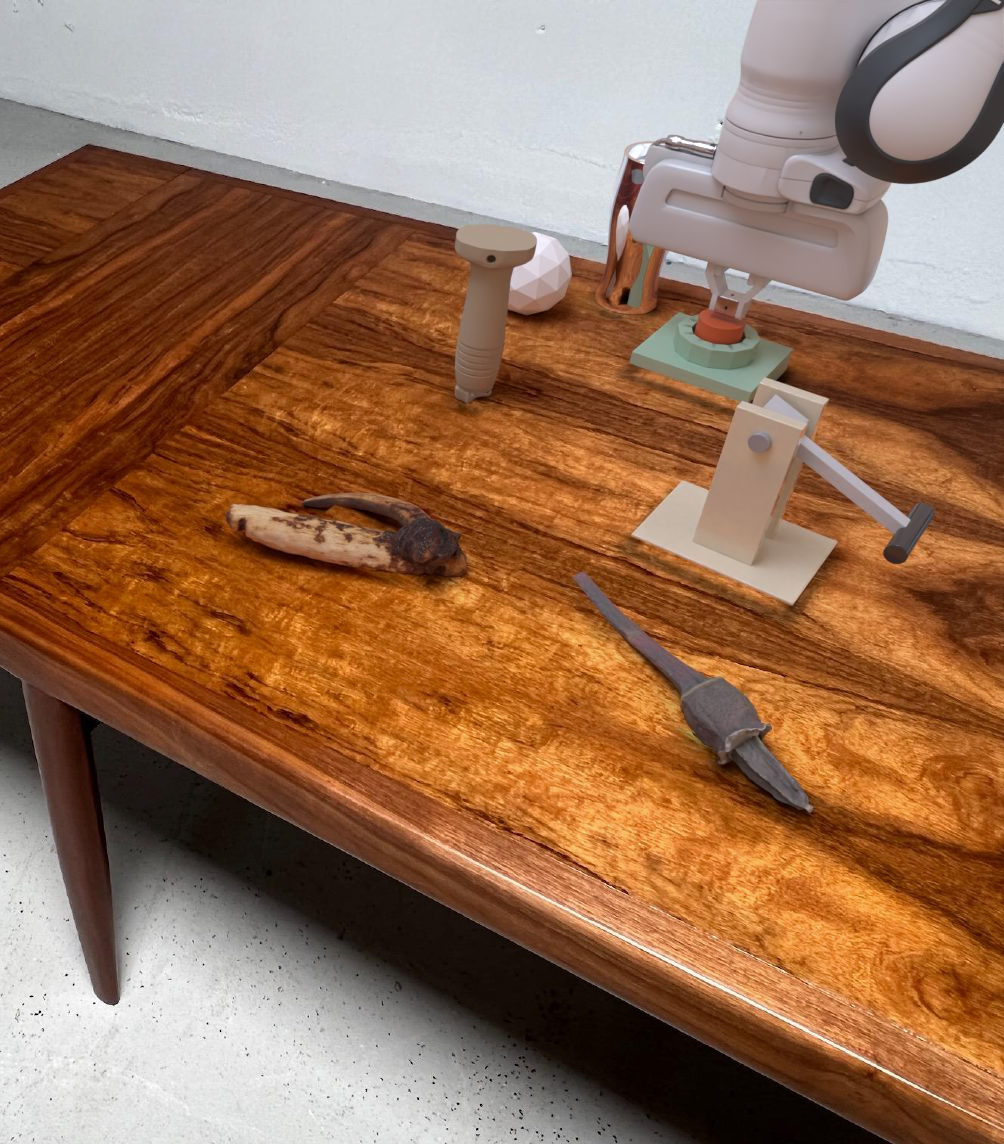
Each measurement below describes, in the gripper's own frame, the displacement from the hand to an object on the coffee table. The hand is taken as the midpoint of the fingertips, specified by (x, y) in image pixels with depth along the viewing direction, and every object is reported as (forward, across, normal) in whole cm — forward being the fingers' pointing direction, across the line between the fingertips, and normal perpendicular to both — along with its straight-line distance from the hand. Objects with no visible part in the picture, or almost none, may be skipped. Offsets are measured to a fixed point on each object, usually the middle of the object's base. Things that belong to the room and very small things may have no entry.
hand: (727, 313), depth 99 cm
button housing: (+6, 0, 0) cm, 6 cm away
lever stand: (+6, +12, -24) cm, 27 cm away
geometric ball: (+6, -19, 0) cm, 20 cm away
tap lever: (-2, +16, -24) cm, 29 cm away
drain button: (+2, 0, 0) cm, 2 cm away
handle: (+6, -14, -18) cm, 24 cm away
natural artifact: (+6, +15, -40) cm, 43 cm away
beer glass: (+6, -12, +8) cm, 16 cm away
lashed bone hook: (+6, -10, -42) cm, 44 cm away
